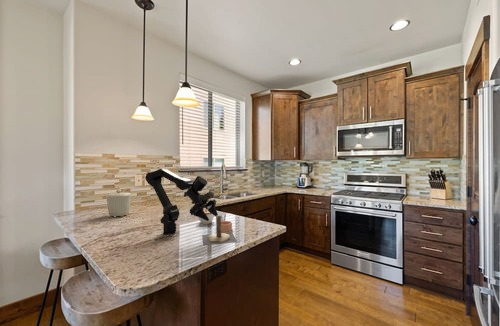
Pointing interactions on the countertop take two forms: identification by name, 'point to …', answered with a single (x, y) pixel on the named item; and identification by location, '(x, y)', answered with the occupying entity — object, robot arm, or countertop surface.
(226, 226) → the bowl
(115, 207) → the canister
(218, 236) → the disc with tall peg
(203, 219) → the lidded jar
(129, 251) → the countertop surface
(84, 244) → the countertop surface
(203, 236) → the mat
